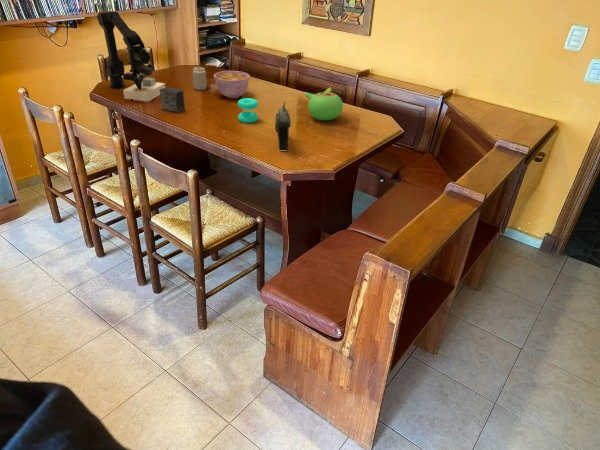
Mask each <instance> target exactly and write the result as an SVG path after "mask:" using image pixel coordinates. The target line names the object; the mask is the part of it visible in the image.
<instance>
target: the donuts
mask: <svg viewBox="0 0 600 450" xmlns="http://www.w3.org/2000/svg"><path fill="white" fill-rule="evenodd" d="M237 105H238V107H239V108H240V109H243V110H246V111H242V112H240V113H238V116H237V118H238V120H239V121H240V122H242V123H247V124H250V123H255V122H257V121H258V120H259V115H258V114H257V113H256V112H254V111H251V110H254V109H256V108H258V105H259V102H258V100H257V99H254V98H252V97H251V98H250V97H249V98H248V97H246V98H245V97H244V98H241V99H239V100H238V101H237ZM248 110H249V111H248Z"/></svg>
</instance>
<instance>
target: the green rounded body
mask: <svg viewBox="0 0 600 450" xmlns="http://www.w3.org/2000/svg"><path fill="white" fill-rule="evenodd" d="M332 89H333V88H332V87H331V86H330V87H328V88H327V89H326V90H325V91H321V92H317V93H316V94H315V93H311V92H304V93H303V95H304V96H305V97H306V98H307V99H309V100H308V104H307V110H308V112H309V114H310V116H312V117H313V118H314V119H316V120H319V121H331V120H334V119H337V117H339V116H340V115H341V113H342V111H343V108H344V105H343V103H344V102H343V100H342V98H341V97H340V96H339V95H338V94H336V93H334V92H332Z"/></svg>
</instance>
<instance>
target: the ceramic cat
mask: <svg viewBox="0 0 600 450" xmlns="http://www.w3.org/2000/svg"><path fill="white" fill-rule="evenodd" d="M285 105H286V102H285V101H284V102H283V105H282V107H281V108H279V109H278V112H277V113H275V122H274V123H275V124H274V125H275V126H274V129H275V132H276V133H277V137H278V149H280V150H287V151H288V148H289V136H290V135H289V134H290V133H289V131H290V128H291V126H292V125H291V113H289V109H287V108H285ZM280 150H279V151H280Z"/></svg>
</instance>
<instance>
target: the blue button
mask: <svg viewBox="0 0 600 450" xmlns="http://www.w3.org/2000/svg"><path fill="white" fill-rule="evenodd" d="M142 82H143V85H145V86H153V85H155V82H156V78H154V77H153V78H152V77H144V78H143V81H142Z"/></svg>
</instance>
